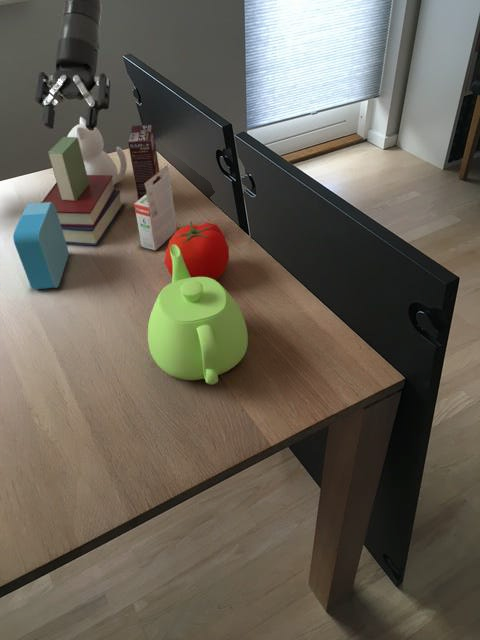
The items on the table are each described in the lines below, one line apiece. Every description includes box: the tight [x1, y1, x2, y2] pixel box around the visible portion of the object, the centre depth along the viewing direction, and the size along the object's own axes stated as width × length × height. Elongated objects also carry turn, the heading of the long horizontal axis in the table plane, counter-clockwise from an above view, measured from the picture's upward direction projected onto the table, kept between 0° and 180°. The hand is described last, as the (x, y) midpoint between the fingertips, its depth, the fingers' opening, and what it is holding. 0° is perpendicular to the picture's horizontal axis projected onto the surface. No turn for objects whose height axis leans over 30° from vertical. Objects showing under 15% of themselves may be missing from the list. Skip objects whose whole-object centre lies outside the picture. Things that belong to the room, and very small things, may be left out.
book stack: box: [40, 175, 124, 247], centre depth 112 cm, size 12×16×7 cm
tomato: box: [164, 220, 230, 281], centre depth 95 cm, size 11×13×10 cm
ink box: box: [133, 165, 178, 251], centre depth 103 cm, size 4×8×15 cm, turn 153°
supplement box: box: [127, 124, 161, 201], centre depth 114 cm, size 9×5×16 cm, turn 4°
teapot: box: [147, 244, 249, 385], centre depth 80 cm, size 22×15×13 cm
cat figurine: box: [66, 116, 128, 187], centre depth 122 cm, size 9×12×15 cm
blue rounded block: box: [12, 202, 69, 290], centre depth 97 cm, size 12×4×12 cm, turn 3°
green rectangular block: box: [47, 136, 89, 201], centre depth 106 cm, size 3×7×10 cm, turn 170°
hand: (69, 128), depth 104 cm, fingers open, 8 cm apart
